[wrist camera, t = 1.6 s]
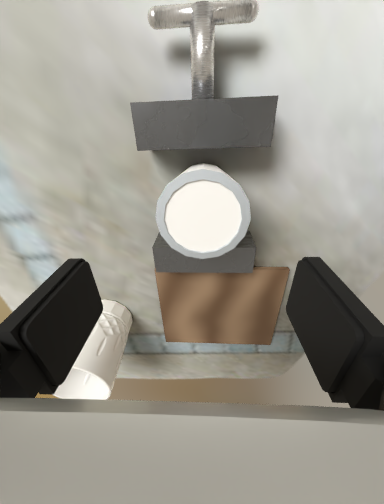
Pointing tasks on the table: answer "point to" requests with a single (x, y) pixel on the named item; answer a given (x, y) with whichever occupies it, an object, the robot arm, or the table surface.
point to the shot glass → (203, 212)
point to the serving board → (221, 305)
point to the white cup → (99, 356)
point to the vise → (204, 118)
